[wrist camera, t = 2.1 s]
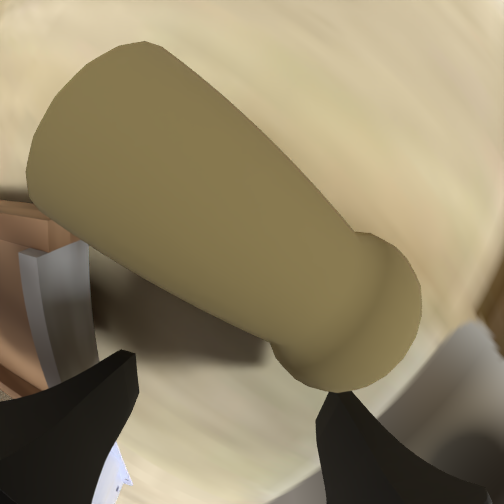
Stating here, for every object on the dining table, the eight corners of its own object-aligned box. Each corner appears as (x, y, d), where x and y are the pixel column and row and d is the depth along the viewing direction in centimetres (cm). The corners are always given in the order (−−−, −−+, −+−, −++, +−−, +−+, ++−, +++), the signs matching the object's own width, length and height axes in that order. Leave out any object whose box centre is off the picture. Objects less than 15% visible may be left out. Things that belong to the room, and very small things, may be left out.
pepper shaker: (181, 95, 10) (380, 255, 11) (92, 214, 10) (299, 361, 12) (152, -2, 4) (484, 285, 6) (-10, 217, 4) (352, 455, 6)
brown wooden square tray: (121, 399, 13) (90, 452, 9) (4, 343, 13) (-30, 372, 9) (108, 206, 10) (35, 224, 6) (-17, 193, 10) (-68, 204, 6)
